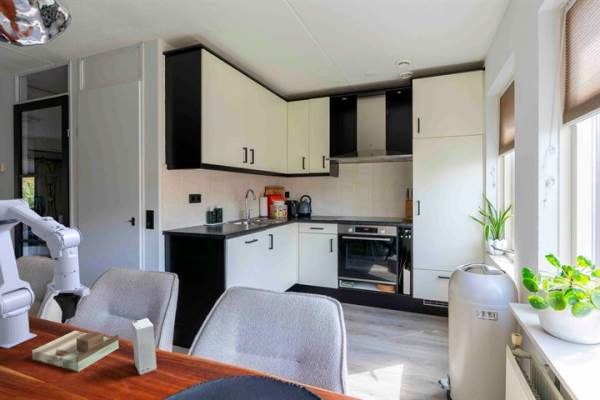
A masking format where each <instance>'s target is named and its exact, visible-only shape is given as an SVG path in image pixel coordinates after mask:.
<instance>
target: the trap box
mask: <svg viewBox="0 0 600 400" xmlns="http://www.w3.org/2000/svg"><path fill="white" fill-rule="evenodd" d="M87 333H88V332H84V331H83V332H82V331H79V330H73V331H71V332H69V333H67V334H65V335H63V336H61V337H59V338H56V339H54V340H52V341H50V342H48V343H45V344H44V345H41V346H39V347H37V348H35V349H32V350H31V352H32V353H31V354H32V360H33V361H35V360H36V361H38V362H42V363H46V364H49V365H53V366H56V367H60V368H64V369H67V370H71V371H75V372H81V371H82V370H84V369H86V368H88V367H90V366H91V365H92V364H94V363H95V362H97V361H99V360H101V359H103V358H105V356H107V355H109V354H110V353H112V352H114V351H116V350H117V349H120V347H119V335H118V334H115V335H113V336H112V337H107V336H103V338H104V342H102V343H100V344H99V345H97V346H95V347H93V348H91V349H89V350H88V351H86V352H79V351H77V342H76V339H77V338H79V337H81V336H83V335H85V334H87Z"/></svg>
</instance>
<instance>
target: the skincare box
mask: <svg viewBox="0 0 600 400" xmlns="http://www.w3.org/2000/svg"><path fill="white" fill-rule="evenodd" d="M154 331H155V330H154V324H153V323H152V322H151V321H150V320H149V318H148V317H146V318H141V319H138V320H135V321H132V322H131V335H132V344H133V347H132V348H133V358H134V366H135V368H136V370H137V372H138V374H139V376H140V375H144V374H147V373H149V372H152V371H155V370H157V357H156V345H155V344H156V342H155V332H154Z"/></svg>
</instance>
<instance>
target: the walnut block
mask: <svg viewBox="0 0 600 400" xmlns="http://www.w3.org/2000/svg"><path fill="white" fill-rule="evenodd" d="M86 333H87V334H85V335H83V336H81V337H79V338H77V339H76V342H77V351H79V352H86V351H88V350H89V349H91V348H93V347H95V346H97V345H99V344H100V343H102V342H104V338H103V337H104V333H102V332H96V331H93V330H91V331H89V332H86Z"/></svg>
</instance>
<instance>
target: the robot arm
mask: <svg viewBox="0 0 600 400" xmlns="http://www.w3.org/2000/svg"><path fill="white" fill-rule="evenodd" d="M20 222H21V223H23V224H25V225H26V226H29V227H30V228H31V233H33V234H34V235H35V236H37V237H39V238H40V239H42V241H44V242H46V247H47V248H48V249H49V255H50V257H51V258H52V261H53V273H54V274H53V275H54V277H53V279H54V282H51V283H49V284H47V285H46V291H47V292H50V293H51V294H55V295H54V296H53V297H52V299H53V300H54V301H55V303H56V304H57V305H58V306H59V308H60V310H61V313H62V315H63V319H65V320H70V319H72V318H75V317H76V313H77V308H78V305H79V302H80V300H81V298H84V297H87V296H90V294H91V293H90V292H91V291H90V287H87V286H85V285H83V284H81V280H80V263H79V262H80V261H79V260H80V259H79V247H80V246H81V245H82V244H83V235H82V232H81V231H80V230H79V229H78V228H77V227H66V226H65V225H64V224H61V223H59V222H57V221H56V220H55V219H54V218H53V217H51V216H40V215H39V214H38V213H36V212H35V211H34V210H33V209H31V208H30V205H29V202H28V201H25V200H24V199H23V198H15V199H1V200H0V347H1V348H3V349H10V348H12V347H15V346H16V345H19V344H21V343H23V342H26V341H28V340H31V339H33V338H35V337H37V336H38V335H37V334H35V333H32V332H30V325H29V323H30V322H29V310H30V309H31V306H32V305H33V304H34V302H35V294H34V291H33V290H32V287H31V285H30V283H29V282H28V281H25V280H23V279H20V275H19V271H18V266H17V260H16V255H15V251H14V246H13V242H12V238H11V237H12V236H11V230H12V228H14V227H15V226H16V225H18V224H20Z"/></svg>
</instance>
